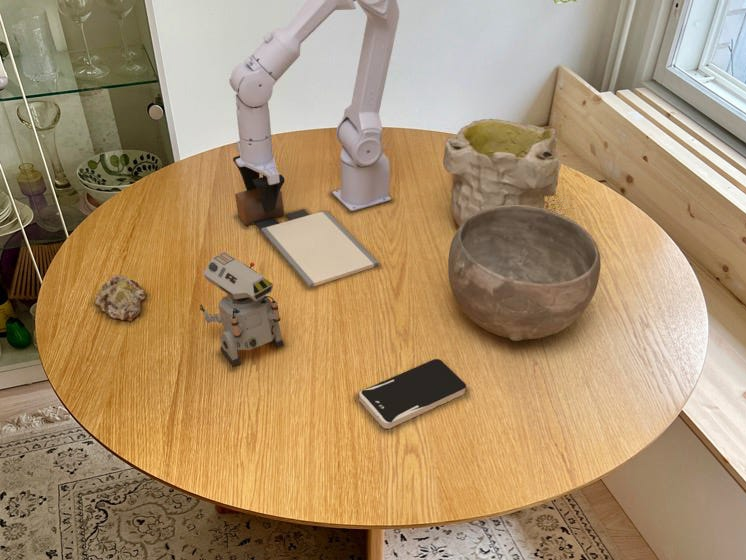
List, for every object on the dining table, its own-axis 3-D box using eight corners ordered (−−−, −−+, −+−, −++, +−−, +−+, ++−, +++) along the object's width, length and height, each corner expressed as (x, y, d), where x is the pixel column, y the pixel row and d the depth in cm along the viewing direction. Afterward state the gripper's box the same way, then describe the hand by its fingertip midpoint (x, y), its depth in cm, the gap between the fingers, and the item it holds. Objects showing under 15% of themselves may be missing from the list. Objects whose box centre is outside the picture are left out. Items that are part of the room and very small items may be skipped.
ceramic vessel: (429, 140, 154) (521, 54, 137) (508, 223, 161) (604, 151, 144) (396, 191, 138) (495, 101, 122) (484, 281, 145) (590, 208, 128)
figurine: (253, 314, 125) (245, 237, 115) (288, 352, 119) (283, 275, 108) (203, 333, 121) (190, 256, 111) (236, 374, 115) (226, 296, 104)
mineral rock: (85, 281, 126) (129, 260, 127) (98, 299, 130) (140, 278, 131) (98, 320, 120) (144, 298, 121) (111, 338, 123) (156, 316, 124)
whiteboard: (326, 213, 148) (326, 209, 148) (378, 266, 136) (378, 262, 136) (261, 232, 143) (260, 228, 142) (309, 288, 131) (309, 284, 130)
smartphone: (468, 386, 113) (385, 424, 107) (467, 393, 114) (385, 431, 108) (438, 357, 117) (357, 392, 111) (437, 363, 118) (356, 398, 112)
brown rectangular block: (275, 207, 149) (272, 183, 146) (284, 215, 147) (281, 191, 144) (238, 217, 146) (234, 193, 143) (246, 225, 144) (243, 201, 141)
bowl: (491, 382, 116) (505, 305, 105) (413, 294, 131) (419, 219, 120) (613, 337, 124) (637, 262, 113) (527, 260, 139) (542, 187, 129)
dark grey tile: (274, 218, 146) (273, 217, 146) (280, 226, 145) (280, 224, 144) (255, 224, 145) (255, 222, 145) (261, 231, 143) (261, 230, 143)
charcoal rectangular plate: (303, 210, 149) (303, 209, 149) (310, 217, 147) (310, 216, 147) (285, 215, 147) (285, 214, 147) (292, 223, 146) (292, 221, 145)
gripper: (218, 122, 138) (227, 188, 147) (251, 156, 129) (257, 224, 139) (254, 114, 141) (260, 180, 150) (288, 147, 132) (292, 214, 141)
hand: (261, 200), depth 145 cm, fingers open, 7 cm apart
